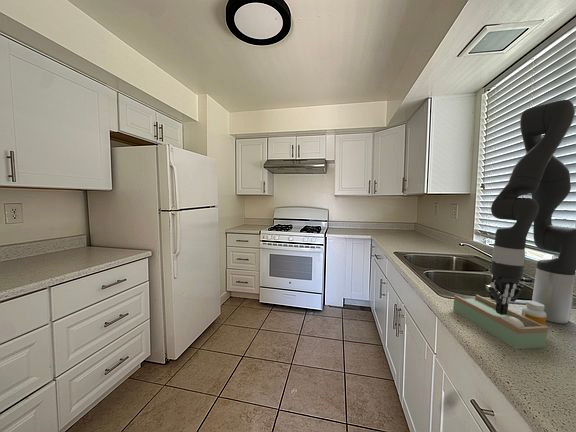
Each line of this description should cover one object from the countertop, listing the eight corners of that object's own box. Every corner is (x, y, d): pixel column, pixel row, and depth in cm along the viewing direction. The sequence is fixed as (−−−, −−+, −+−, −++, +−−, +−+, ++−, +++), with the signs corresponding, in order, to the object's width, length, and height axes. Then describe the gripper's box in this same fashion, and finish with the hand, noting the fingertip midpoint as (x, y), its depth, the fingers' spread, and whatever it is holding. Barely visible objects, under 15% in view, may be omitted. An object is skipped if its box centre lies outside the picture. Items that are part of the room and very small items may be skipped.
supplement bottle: (548, 338, 73) (553, 308, 72) (528, 336, 74) (532, 306, 73) (534, 329, 78) (538, 300, 77) (515, 326, 79) (519, 298, 78)
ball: (529, 319, 71) (532, 340, 70) (509, 314, 76) (511, 334, 75) (511, 318, 70) (513, 340, 69) (492, 313, 76) (494, 333, 75)
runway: (475, 309, 90) (477, 294, 90) (545, 347, 68) (548, 327, 68) (453, 310, 89) (454, 295, 88) (516, 349, 67) (519, 329, 67)
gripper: (512, 257, 79) (506, 307, 81) (477, 257, 77) (472, 308, 79) (539, 264, 72) (531, 319, 73) (501, 264, 70) (494, 320, 72)
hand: (500, 313), depth 76 cm, fingers closed
